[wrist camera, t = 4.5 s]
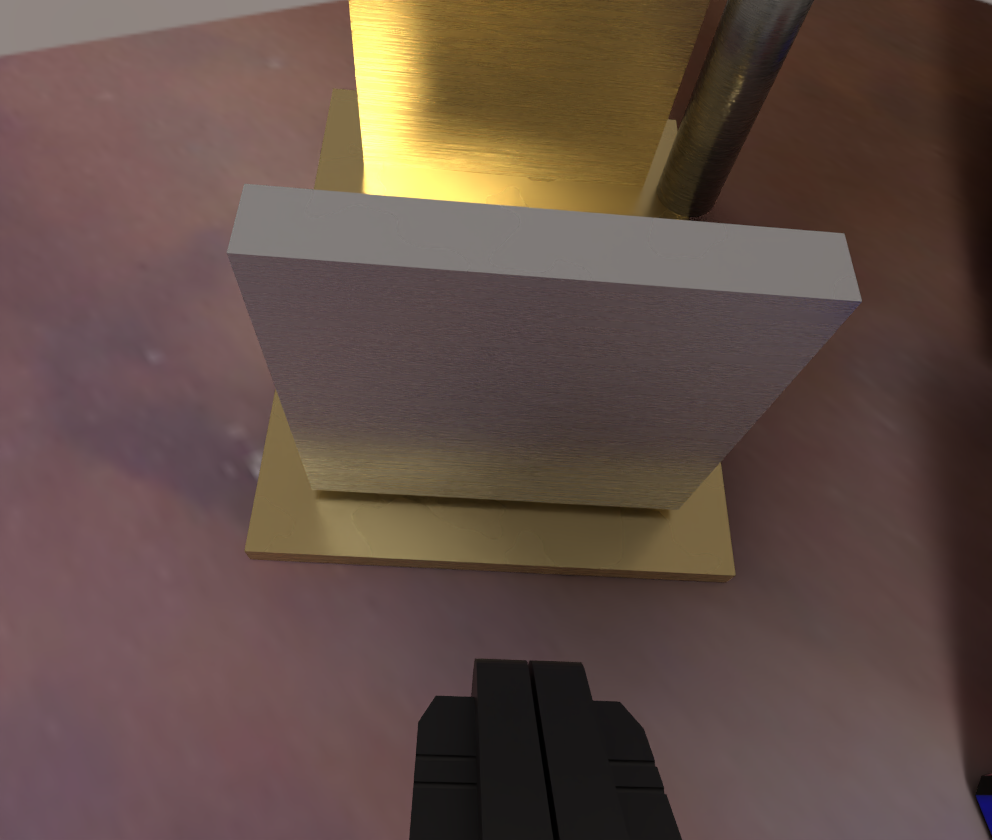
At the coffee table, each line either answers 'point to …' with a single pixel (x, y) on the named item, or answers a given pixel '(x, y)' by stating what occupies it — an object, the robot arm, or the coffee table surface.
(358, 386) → the panel
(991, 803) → the puzzle cube
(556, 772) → the robot arm
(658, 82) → the brass half
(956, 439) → the coffee table surface
